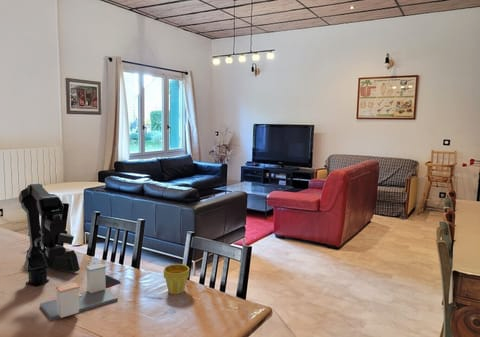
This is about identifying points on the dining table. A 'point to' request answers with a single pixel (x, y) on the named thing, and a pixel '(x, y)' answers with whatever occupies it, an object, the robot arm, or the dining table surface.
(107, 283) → the smartphone
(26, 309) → the dining table surface
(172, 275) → the plant pot
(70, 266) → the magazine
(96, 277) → the grey rectangular block
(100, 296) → the grey flat board
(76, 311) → the white box tan lid
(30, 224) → the robot arm
